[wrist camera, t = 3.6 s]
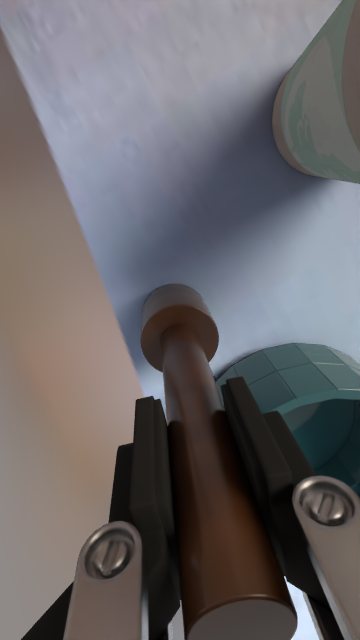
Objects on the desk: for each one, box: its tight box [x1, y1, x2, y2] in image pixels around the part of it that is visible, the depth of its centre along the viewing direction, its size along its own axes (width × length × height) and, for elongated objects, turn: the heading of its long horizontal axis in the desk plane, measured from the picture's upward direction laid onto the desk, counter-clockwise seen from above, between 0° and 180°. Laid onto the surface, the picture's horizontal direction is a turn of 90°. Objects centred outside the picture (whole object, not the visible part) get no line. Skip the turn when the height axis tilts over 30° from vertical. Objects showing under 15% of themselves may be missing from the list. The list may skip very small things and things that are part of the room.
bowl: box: [215, 343, 360, 498], centre depth 22 cm, size 13×13×6 cm
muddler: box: [141, 284, 297, 640], centre depth 13 cm, size 4×4×16 cm
